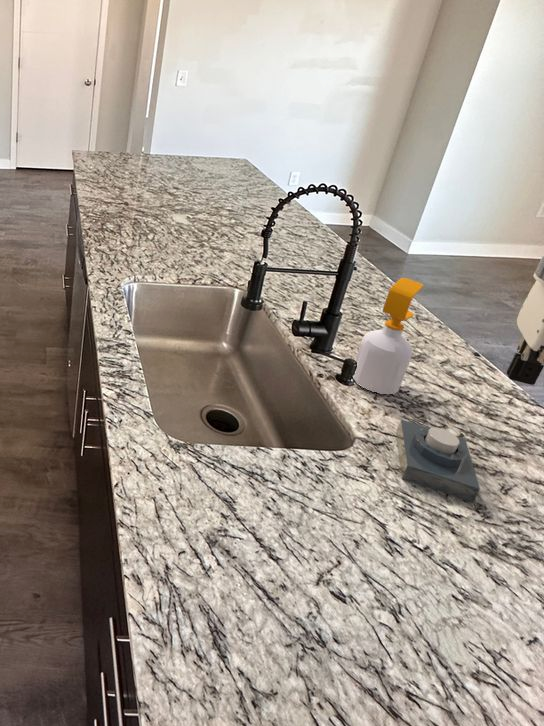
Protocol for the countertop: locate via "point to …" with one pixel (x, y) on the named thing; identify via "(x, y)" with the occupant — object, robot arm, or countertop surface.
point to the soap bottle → (388, 343)
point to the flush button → (442, 440)
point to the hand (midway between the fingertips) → (519, 379)
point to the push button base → (435, 463)
